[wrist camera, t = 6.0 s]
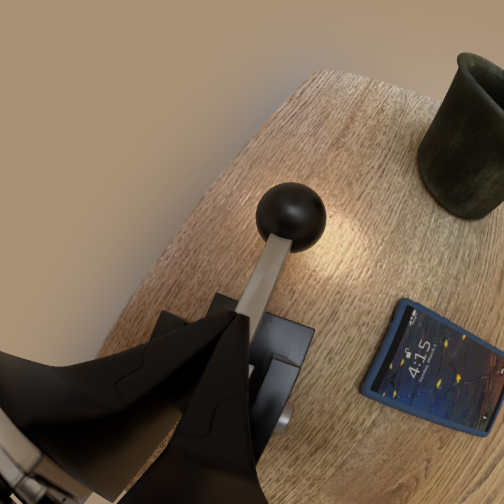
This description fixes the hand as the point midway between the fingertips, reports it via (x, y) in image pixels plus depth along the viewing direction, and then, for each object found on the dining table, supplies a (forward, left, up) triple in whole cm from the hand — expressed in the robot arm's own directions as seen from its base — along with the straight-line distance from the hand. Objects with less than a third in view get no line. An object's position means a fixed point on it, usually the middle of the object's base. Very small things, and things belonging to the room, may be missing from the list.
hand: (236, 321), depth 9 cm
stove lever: (+1, +1, -4) cm, 4 cm away
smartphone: (+7, -14, -10) cm, 19 cm away
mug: (+25, -5, -10) cm, 28 cm away
